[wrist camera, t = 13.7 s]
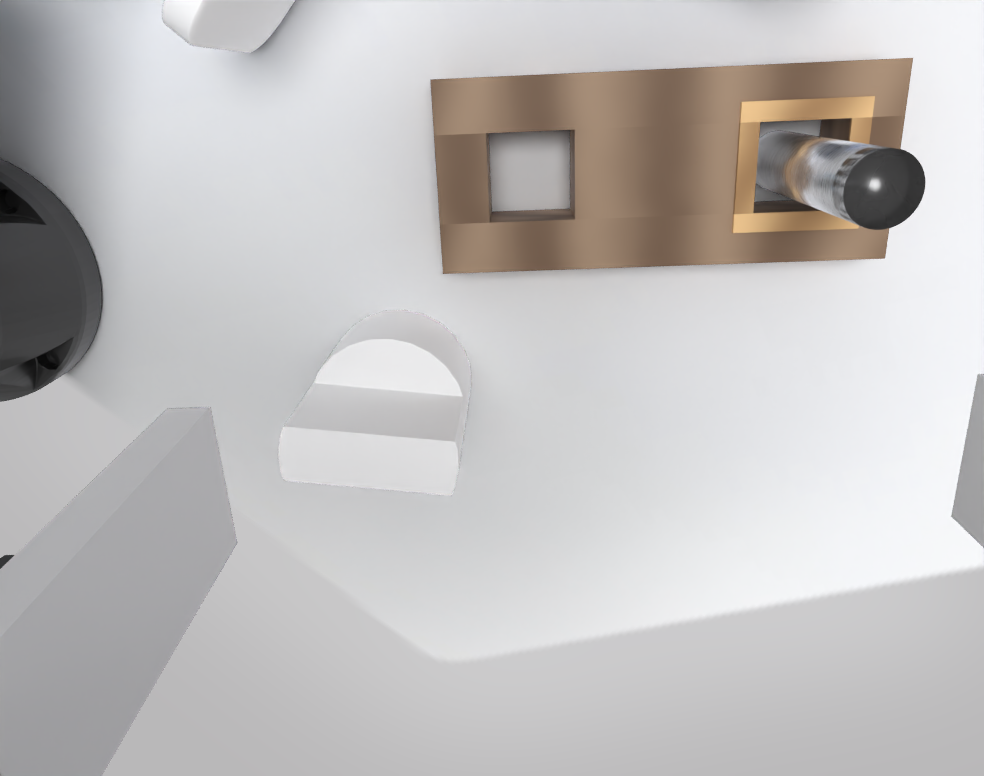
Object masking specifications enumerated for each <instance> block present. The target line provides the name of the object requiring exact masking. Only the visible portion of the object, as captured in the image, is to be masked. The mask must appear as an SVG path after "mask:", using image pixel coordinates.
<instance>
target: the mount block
mask: <svg viewBox="0 0 984 776" xmlns="http://www.w3.org/2000/svg"><path fill="white" fill-rule="evenodd" d="M912 62H913V58H901V59H879V60H857V61H834V62H812V63H790V64H768V65H745V66H723V67H701V68H679V69H657V70H634V71H612V72H590V73H568V74H545V75H523V76H501V77H479V78H457V79H434V80H431V95H432V110H433V126H434V141H435V157H436V172H437V188H438V203H439V218H440V234H441V249H442V265H443V274H449V273H478V272H507V271H536V270H565V269H593V268H622V267H651V266H680V265H709V264H738V263H766V262H795V261H824V260H853V259H882V258H885V254H886V247H887V240H888V233H889V228H888V229H883V230H872V229H867V228H864V227H861V226H859V225H856V224H854V223H851V222H849V221H846V220H844V219H841V218H839V217H836V216H833V215H831V214H828V213H826V212H823V211H821V210H818V209H816V208H813V207H811V206H808V205H806V204H803V203H801V202H798V201H796V200H790V201H763V202H754V198H755V185H756V172H757V159H758V146H759V133H760V122H771V121H794V120H818V119H822V120H821V129H820V137H825V138H831V139H838V140H844V141H851V142H857V143H864V144H870V145H877V146H883V147H890V148H896V149H900V147H901V140H902V133H903V126H904V119H905V111H906V104H907V97H908V90H909V83H910V76H911V69H912ZM552 130H570V209H552V210H526V211H499V212H492V204H491V180H490V155H489V133H504V132H528V131H552Z"/></svg>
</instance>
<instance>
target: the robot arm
mask: <svg viewBox="0 0 984 776" xmlns="http://www.w3.org/2000/svg"><path fill="white" fill-rule="evenodd" d="M101 302H102V296H101V283H100V277H99V272H98V268H97V264H96V261H95V258H94V255H93V252H92V250H91V247H90V245H89V243H88V241H87V239H86V237H85V235H84V233H83V232H82V230H81V228H80V226H79V225H78V223H77V222H76V220H75V219H74V217H73V216H72V215H71V213H70V212H69V211H68V210H67V208H66V207H65V206H64V205H63V204H62V203H61V201H60V200H59V199H58V198H57V197H56V196H55V195H54V194H53V193H52V192H50V191H49V190H48V189H47V188H46V187H45V186H44V185H42V184H41V183H40V182H39V181H38V180H36V179H35V178H33V177H32V176H30V175H29V174H28V173H26V172H24V171H23V170H21V169H19V168H18V167H16V166H14V165H12V164H10V163H8V162H6V161H4V160H1V159H0V401H7V400H12V399H16V398H19V397H22V396H25V395H28V394H30V393H33V392H35V391H37V390H39V389H41V388H43V387H44V386H46V385H48V384H49V383H51V382H52V381H54V380H56V379H57V378H59V377H60V376H62V375H64V374H65V373H66V372H68V371H69V370H70V369H71V368H72V367H74V366H75V365H76V364H77V363H78V361H79V360H80V359H81V358H82V357H83V355H84V354H85V353H86V351H87V350H88V348H89V347H90V345H91V343H92V341H93V339H94V336H95V334H96V331H97V327H98V324H99V319H100V314H101ZM951 517H952V518H953V519H954V520H956V521H957V522H958V523H959V524H960V525H961V526H962V527H963V528H964V529H965V530H966V531H967V532H968V533H969V534H970V535H971V536H972V537H973V538H974V539H975V540H976V541H977V542H978V543H979V544H980V545H981V546H983V547H984V374H978V376H977V381H976V386H975V392H974V397H973V403H972V408H971V413H970V419H969V424H968V429H967V435H966V440H965V446H964V451H963V456H962V462H961V467H960V473H959V478H958V483H957V489H956V494H955V500H954V505H953V510H952V516H951ZM236 544H237V539H236V534H235V529H234V524H233V519H232V514H231V508H230V503H229V498H228V493H227V488H226V483H225V478H224V473H223V468H222V463H221V458H220V453H219V448H218V443H217V437H216V432H215V427H214V422H213V417H212V412H211V407H195V408H171V409H166V410H165V411H164V412H163V413H162V414H161V415H160V416H159V417H158V418H157V419H156V420H155V421H154V422H153V423H152V424H151V425H150V426H149V427H148V428H147V429H145V430H144V431H143V432H142V433H141V434H140V435H139V436H138V437H137V438H136V439H135V440H134V441H133V442H132V443H131V444H130V445H129V446H128V447H127V448H126V449H125V450H124V451H123V452H122V453H121V454H119V455H118V456H117V457H116V458H115V459H114V460H113V461H112V462H111V463H110V464H109V465H108V466H107V467H106V468H105V469H104V470H103V471H102V472H101V473H100V474H99V475H98V476H97V477H96V478H94V479H93V480H92V481H91V482H90V483H89V484H88V485H87V486H86V487H85V488H84V489H83V490H82V491H81V492H80V493H79V494H78V495H77V496H76V497H75V498H74V499H73V500H72V501H71V502H70V503H69V504H67V506H65V507H64V508H63V509H62V510H61V511H60V512H59V513H58V514H57V515H56V516H55V517H54V518H53V519H52V520H51V521H50V522H49V523H48V524H47V525H46V526H45V527H44V528H43V529H41V530H40V531H39V532H38V533H37V534H36V535H35V536H34V537H33V538H32V539H31V540H30V541H29V542H28V543H27V544H26V545H25V546H24V547H23V548H22V549H21V550H20V551H19V552H18V553H16V554H15V555H5V556H3V557H2V558H0V776H102V774H103V773H104V771H105V769H106V768H107V766H108V764H109V762H110V761H111V759H112V757H113V755H114V754H115V752H116V750H117V749H118V747H119V745H120V743H121V742H122V740H123V738H124V737H125V735H126V733H127V731H128V730H129V728H130V726H131V724H132V723H133V721H134V719H135V717H136V716H137V714H138V712H139V711H140V709H141V707H142V706H143V704H144V702H145V701H146V699H147V697H148V695H149V693H150V692H151V690H152V688H153V687H154V685H155V683H156V682H157V680H158V678H159V676H160V675H161V673H162V671H163V670H164V668H165V666H166V664H167V663H168V661H169V659H170V658H171V656H172V654H173V652H174V650H175V649H176V647H177V646H178V644H179V642H180V640H181V639H182V637H183V635H184V633H185V632H186V630H187V628H188V627H189V625H190V623H191V621H192V620H193V618H194V616H195V615H196V613H197V611H198V609H199V608H200V606H201V604H202V603H203V601H204V599H205V597H206V596H207V594H208V592H209V591H210V589H211V587H212V585H213V584H214V582H215V580H216V579H217V577H218V575H219V573H220V572H221V570H222V568H223V567H224V565H225V563H226V561H227V560H228V558H229V556H230V554H231V553H232V551H233V549H234V548H235V546H236Z"/></svg>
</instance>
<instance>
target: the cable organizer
mask: <svg viewBox="0 0 984 776" xmlns="http://www.w3.org/2000/svg"><path fill="white" fill-rule="evenodd" d="M294 2H295V0H164V3H163V8H162V20H163V22H164V24H165V25H166V26H168V27H169V28H170V29H171V30H173V31H174V32H175V33H176V34H177V35H179V36H180V37H181V38H182V39H184V40H185V41H186V42H187V43H188V44H190V45H192V46H198V47H206V48H213V49H221V50H228V51H236V52H243V53H251V52H253V51H255V50H256V49H258V48H259V47H260V46H261V45H262V44H263V43H264V42H265V41H266V40H267V39H268V38H269V37H270V36H271V35H272V33H273V32H274V31H275V30H276V28H277V27H278V26H279V24H280V23H281V21H282V20H283V18H284V17H285V15H286V14H287V12H288V11H289V9H290V8H291V6H292V5H293V3H294Z"/></svg>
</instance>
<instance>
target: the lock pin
mask: <svg viewBox="0 0 984 776" xmlns="http://www.w3.org/2000/svg"><path fill="white" fill-rule="evenodd" d="M756 184H757V185H759V186H760V187H763V188H765V189H768V190H770V191H773V192H775V193H778V194H780V195H783V196H785V197H788V198H790V199H793V200H796V201H798V202H801V203H803V204H806V205H808V206H811V207H813V208H816V209H818V210H821V211H823V212H826V213H828V214H831V215H833V216H836V217H839V218H841V219H844V220H846V221H849V222H851V223H854V224H856V225H859V226H861V227H864V228H867V229H872V230H883V229H888V228H891V227H894V226H896V225H898V224H900V223H902V222H903V221H905V220H906V219H907V218H908V217H909V216H910V215H911V214H912V213H913V212H914V211H915V210H916V208H917V207H918V205H919V203H920V201H921V199H922V197H923V194H924V189H925V175H924V171H923V168H922V166H921V164H920V163H919V161H918V160H917V159H916V158H915V157H914V156H913V155H912V154H910V153H909V152H907V151H904V150H901V149H896V148H890V147H883V146H877V145H870V144H864V143H857V142H851V141H844V140H838V139H831V138H825V137H818V136H812V135H806V134H799V133H793V132H786V131H772V132H769V133H766V134H764V135H763V136H761V137H760V138H759V146H758V159H757V172H756Z"/></svg>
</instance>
